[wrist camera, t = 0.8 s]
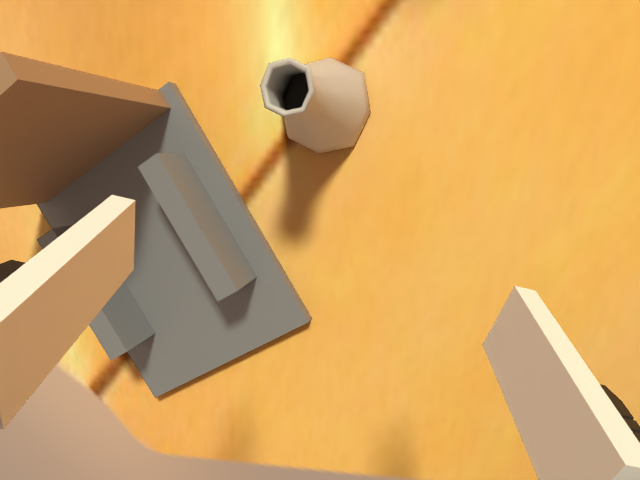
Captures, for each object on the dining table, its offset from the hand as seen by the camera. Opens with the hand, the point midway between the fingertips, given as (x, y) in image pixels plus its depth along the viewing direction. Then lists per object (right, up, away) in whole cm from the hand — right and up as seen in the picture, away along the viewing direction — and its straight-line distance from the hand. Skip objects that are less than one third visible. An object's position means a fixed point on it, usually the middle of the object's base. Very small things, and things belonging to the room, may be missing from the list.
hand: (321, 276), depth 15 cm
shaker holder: (-14, 0, +24) cm, 28 cm away
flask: (0, +12, +19) cm, 22 cm away
